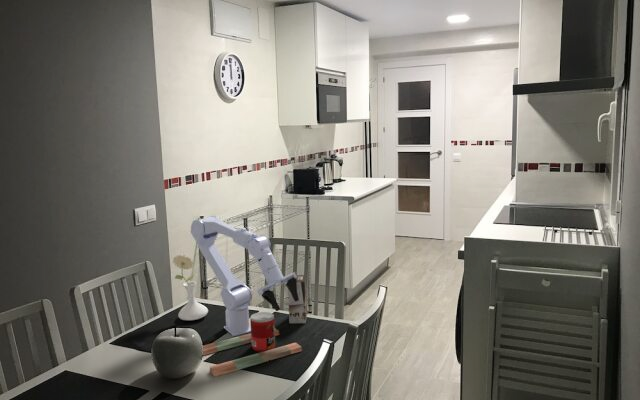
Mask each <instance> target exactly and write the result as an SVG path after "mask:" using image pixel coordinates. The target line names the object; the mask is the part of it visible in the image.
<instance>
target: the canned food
mask: <svg viewBox="0 0 640 400" xmlns="http://www.w3.org/2000/svg"><path fill="white" fill-rule="evenodd" d="M249 324H250V327H251V332H250V333H251V341H252V342H251V348H252V350H254V351H255V352H258V353H260V352H264V351H267V350H271V349H275V348H276V336H275V328H276V327H275V315H274V314H273V313H271V312H268V311H267V312H266V311H261V312H260V311H259V312H255V313H253V314H251V315H250V316H249Z"/></svg>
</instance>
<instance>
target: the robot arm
mask: <svg viewBox="0 0 640 400" xmlns="http://www.w3.org/2000/svg"><path fill="white" fill-rule="evenodd" d="M219 234H220V235H223V236H226V237H228V238H231V239H232V241H233V243H234V244H236V245H238V246H240V247H242V248H245V250H247V252H248V254H250V255H251V256H252V257H253V259H254V260H255V261H256V262H257V264H258V266H259V269H260V270H261V272H262V275H263V277H264V278H265V281H266V283H267V284H266V285H265V286H261V287H260V288H258V289H256V291H257V294H258V296H261V297H262V298H263V299H264V300H266V301H267V303H269V304H270V305H271V306H272V308H273V309H274V310H275V312H278V311H281V308H280V305H279V303H278V302H277V299H276V297H275V294H274V291H273V290H274V289H275V288H277V287H279V286H282V285H284V284H285V283H286V284H285V287H286V288H287V289H289V291H290V292H291V294H292V296H293V299H294V300H295V302H296V301H298V300H299V298H298V293H297V280H296V277H297V276H296V272H295V271H294V272H292V273H289V274H287V275H285V276H284V275H283V272H282V271H281V269H280V267H279V265H278V262H277V261H276V259H275V256H274V255H273V253H272V251H271V245H272V243H271V240H270V239H269V237H267V236H266V235H265V234H260V235H258V234H257V233H253V232H251V231H248V230H247V228H246V227H242V228H241V227H240V228H235V227H233V226H232V225H229V224H227V222H225V221H222V219H221V218H220V217H217V216H216V215H211V216H208V217H204V218H200V219H195V220H193V221H192V223H191V225H190V235H192V237H193V239H194V240H195V242H196V244H197V247H198V249H199V251H200V252H201V254H202V255H203V257H204V258H205V261H206V263H207V264H208V265H209V267H210V269H211V270H212V271H213V273H214V275H215V276H216V279H217V280H218V281H219V283H220V285H221V286H222V288H221V290H220V297H221V298H222V304H224V307H225V308H226V309H225V312H224V313H225V325H224V326H223V328H224V329H225V330H226V332H228V333H229V334H230V335H232V337H235V336H236V337H237V336H241V335H245V334H249V333H251V326H250V313H249V305H250V302H251V301H252V299H253V293H252V290H251V289H250V287H249V286H247V285H246V283H245V282H244V281H242V280H240V279H238V278H236V277H235V275H234V272H232V270H231V269H230V267H229V265H228V264H227V262H226V260H225V259H224V258H223V256H222V254H221V252H220V251H219V249H218V248H217V246H216V244H215V241H216V240H217V238H218V235H219ZM294 278H295V279H294ZM276 284H277V285H276Z"/></svg>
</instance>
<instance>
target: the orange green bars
mask: <svg viewBox="0 0 640 400" xmlns="http://www.w3.org/2000/svg"><path fill="white" fill-rule="evenodd" d="M277 336H280V330H278V329H277V328H276V327H275V337H277ZM250 343H251V344H252V341H251V332H249V333H245V334H241V335H237V336H236V337H235V336H233V337H231V338H227V339H223V340H220V341H215V342H212V343H207V344H205V345H204V344H203V345H202V346H203V356H205V355H210V354H213V353H218V352H220V351H224V350H229V349H231V348H235V347H240V346H242V345H247V344H250ZM302 349H303V348H302V346H301V345H300V344H298V343H297V342H292V343H289V344H287V345H286V344H285V345H282V346H279V347H274V349H271V350H267V351H264V352H258V353H254V354H250V355H247V356H243V357H240V358H236V359H233V360H229V361H225V362H222V363H218V364H215V365H211V366H209V372H210V373H211V374H212V375H213V376H214V377H219V376H222V375H226V374H229V373H233V372H235V371H238V370H239V371H240V370H241V369H247V368H248V367H252V366H256V365H259V364H262V363H266V362H269V360H270V361H273V360H275V359H280V358H282V357H287V356H289V355H292V354H293V355H294V354H297V353H299V352H302Z"/></svg>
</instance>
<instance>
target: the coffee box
mask: <svg viewBox="0 0 640 400" xmlns="http://www.w3.org/2000/svg"><path fill="white" fill-rule="evenodd" d="M296 276H297V277H296V280H297V293H298V298H299V300H298V301H296V302H295V300H294V299H293V296H292V294H291V292H290V291H289V289H288V288H287V289H288V290H287V291H288V321H289V324H306V321H307V318H308V303H307V301H308V299H307V279H306V278H307V277H306V274H298V275H296ZM294 279H295V278H294Z"/></svg>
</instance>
